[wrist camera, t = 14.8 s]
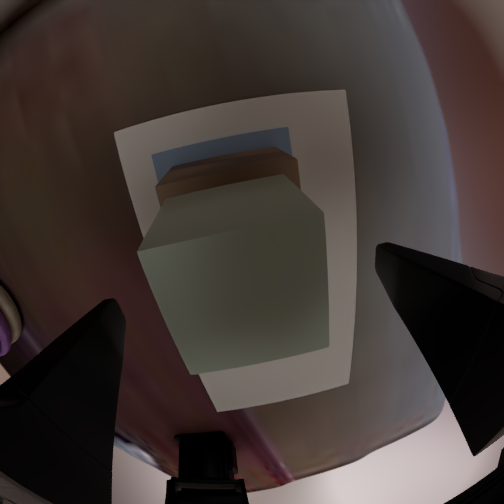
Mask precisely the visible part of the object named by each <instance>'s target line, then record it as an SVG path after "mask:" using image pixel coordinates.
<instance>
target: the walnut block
mask: <svg viewBox="0 0 504 504" xmlns="http://www.w3.org/2000/svg"><path fill="white" fill-rule="evenodd" d="M281 174H284V175H285V176H286V177H287V178H288V179H289V180H291V181H292V182H293V183H294V184H295V185H296V186H297V187H298V188H299V189H300V190H301V186H300V177H299V168H298V160H297V159H296V158H295V157H293V156H291V155H289V154H288V153H286V152H284V151H282V150H280V149H279V148H277V147H268V148H262V149H256V150H250V151H244V152H238V153H233V154H227V155H222V156H217V157H212V158H207V159H203V160H198V161H193V162H189V163H184V164H180V165H176V166H172V167H171V168H170V170H169V171H168V172H167V173H166V174H165V175H164V177H163V178H162V179H161V180H160V181H159V182H158V184H157V185H156V186H155V189H156V193H157V197H158V200H159V204H160V208H161V207H162V205H163V203H164V201H165V200H166V199H167V198H171V197H175V196H179V195H184V194H188V193H192V192H196V191H201V190H205V189H210V188H214V187H219V186H224V185H228V184H233V183H238V182H243V181H248V180H253V179H259V178H264V177H269V176H275V175H281Z"/></svg>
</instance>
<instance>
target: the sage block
mask: <svg viewBox="0 0 504 504" xmlns="http://www.w3.org/2000/svg"><path fill="white" fill-rule="evenodd" d="M137 254H138V256H139V259H140V262H141V264H142V267H143V270H144V272H145V275H146V277H147V280H148V282H149V285H150V287H151V290H152V292H153V295H154V297H155V299H156V302H157V304H158V306H159V309H160V311H161V313H162V316H163V318H164V320H165V322H166V325H167V327H168V329H169V331H170V333H171V336H172V338H173V340H174V342H175V344H176V346H177V348H178V350H179V353H180V355H181V357H182V359H183V361H184V363H185V365H186V367H187V369H188V371H189V373H190V375H194V374H201V373H208V372H215V371H221V370H227V369H233V368H239V367H244V366H249V365H255V364H260V363H264V362H269V361H274V360H279V359H283V358H288V357H292V356H296V355H300V354H304V353H308V352H312V351H316V350H320V349H324V348H328V347H329V291H328V267H327V248H326V233H325V219H324V212H323V211H322V210H321V209H320V208H319V207H318V206H317V205H316V204H315V203H314V202H313V201H312V200H311V199H310V198H308V197H307V196H306V195H305V194H304V193H303V192H302V191H301V190H300V189H299V188H298V187H297V186H296V185H295V184H294V183H293V182H292V181H291V180H289V179H288V178H287V177H286V176H285V175H284V174H281V175H275V176H269V177H264V178H259V179H253V180H248V181H243V182H238V183H233V184H228V185H224V186H219V187H214V188H210V189H205V190H201V191H196V192H192V193H188V194H184V195H179V196H175V197H171V198H167V199H166V200H165V201H164V203H163V205H162V207H161V208H160V210H159V212H158V214H157V215H156V217H155V219H154V221H153V223H152V224H151V226H150V228H149V230H148V232H147V234H146V235H145V237H144V239H143V241H142V243H141V245H140V247H139V249H138V251H137Z"/></svg>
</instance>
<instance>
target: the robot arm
mask: <svg viewBox="0 0 504 504" xmlns="http://www.w3.org/2000/svg"><path fill="white" fill-rule="evenodd" d="M375 269H376V272H377V274H378V276H379V278H380V280H381V282H382V284H383V286H384V288H385V290H386V292H387V294H388V296H389V298H390V300H391V302H392V304H393V306H394V308H395V309H396V311H397V313H398V314H399V316H400V317H401V319H402V321H403V322H404V324H405V325H406V327H407V329H408V330H409V332H410V334H411V335H412V337H413V339H414V340H415V342H416V344H417V346H418V347H419V349H420V351H421V353H422V354H423V356H424V358H425V360H426V361H427V363H428V365H429V367H430V369H431V370H432V372H433V374H434V376H435V378H436V380H437V381H438V383H439V385H440V387H441V389H442V391H443V393H444V395H445V397H446V399H447V401H448V403H450V404H449V405H450V407H451V409H452V411H453V413H454V415H455V417H456V419H457V422H458V424H459V426H460V428H461V430H462V432H463V434H464V437H465V439H466V441H467V443H468V446H469V448H470V450H471V453H472V454H473V456H476V455H477V454H479V453H480V452H482V451H483V450H484V449H486V448H487V447H488V446H490V445H491V444H493V443H494V442H495V441H497V440H498V439H499V438H500V437H502V436H503V435H504V277H503V276H500V275H496V274H492V273H489V272H486V271H483V270H480V269H476V268H473V267H469V266H467V265H464V264H460V263H457V262H454V261H451V260H447V259H444V258H441V257H438V256H434V255H431V254H427V253H424V252H421V251H417V250H414V249H410V248H407V247H403V246H400V245H396V244H392V243H389V242H386V243H381V244H378V245H377V246H376V257H375ZM125 330H126V319H125V316H124V314H123V312H122V310H121V308H120V306H119V304H118V302H117V300H116V299H114V298H111V299H105V300H103V301H102V302H101V303H99V304H98V305H97V306H96V307H94V308H93V309H92V310H91V311H89V312H88V313H87V314H86V315H84V316H83V317H82V318H81V319H79V320H78V321H77V322H76V323H74V324H73V325H72V326H71V327H70V328H68V329H67V330H66V331H65V332H64V333H62V334H61V335H60V336H59V337H58V338H56V339H55V340H54V341H53V342H52V343H50V344H49V345H48V346H47V347H46V348H45V349H43V350H42V351H41V352H40V353H39V354H38V355H36V356H35V357H34V358H33V359H32V360H31V361H29V362H28V363H27V364H26V365H25V366H24V367H22V368H21V369H20V370H19V371H18V372H16V373H15V374H14V375H13V376H11V377H10V378H9V379H8V380H6V382H4V383H3V384H1V385H0V504H111V503H112V497H111V496H112V492H111V491H112V459H113V444H114V432H115V421H116V411H117V403H118V395H119V387H120V380H121V373H122V367H123V359H124V344H125ZM174 440H175V441H176V442H177V443H178V445H179V469H178V478H176V477H171V479H170V480H167V488H166V499H165V504H249V502H248V497H247V493H246V488H245V483H244V479H239V480H234V474H237V473H238V467H237V458H236V449H235V447H234V445H233V443H232V442H231V441H229V440H228V438H227V437H226V435H225V433H224V432H215V433H205V434H194V435H180V436H175V437H174ZM444 504H504V448H503V449H502V451H501V455H500V459H499V463H498V467H497V468H496V469H495V470H494V471H493V472H491V473H490V474H488V475H487V476H486V477H485V478H483V479H481V480H480V481H479V482H477V483H476V484H474V485H473V486H471V487H470V488H468V489H467V490H465V491H464V492H462V493H461V494H459V495H457V496H456V497H454V498H453V499H451V500H449V501H448V502H446V503H444Z"/></svg>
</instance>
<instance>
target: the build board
mask: <svg viewBox="0 0 504 504" xmlns="http://www.w3.org/2000/svg"><path fill="white" fill-rule="evenodd" d="M114 136H115V140H116V144H117V148H118V152H119V156H120V160H121V164H122V168H123V172H124V175H125V179H126V183H127V186H128V190H129V193H130V196H131V200H132V203H133V206H134V210H135V213H136V216H137V219H138V222H139V226H140V229H141V232H142V235H143V238H144V237H145V235H146V234H147V232H148V230H149V228H150V226H151V224H152V223H153V221H154V219H155V217H156V215H157V214H158V212H159V210H160V204H159V200H158V197H157V193H156V189H155V186H156V185H157V184H158V182H159V181H160V180H161V179H162V178H163V177H164V175H165V174H166V173H167V172H168V171H169V170H170V168H171V167H172V166H176V165H180V164H184V163H189V162H193V161H198V160H203V159H207V158H212V157H217V156H222V155H227V154H233V153H238V152H244V151H250V150H256V149H262V148H268V147H277V148H279V149H280V150H282V151H284V152H286V153H288V154H289V155H291V156H293V157H295V158H296V159H297V160H298V168H299V177H300V186H301V191H302V192H303V193H304V194H305V195H306V196H307V197H308V198H310V199H311V200H312V201H313V202H314V203H315V204H316V205H317V206H318V207H319V208H320V209H321V210H322V211H323V212H324V219H325V233H326V248H327V267H328V291H329V347H328V348H324V349H320V350H316V351H312V352H308V353H304V354H300V355H296V356H292V357H288V358H283V359H279V360H274V361H269V362H264V363H260V364H255V365H249V366H244V367H239V368H233V369H227V370H221V371H215V372H208V373H201V374H199V376H200V378H201V380H202V382H203V384H204V386H205V388H206V390H207V392H208V394H209V396H210V398H211V400H212V402H213V404H214V406H215V408H216V410H217V412H221V411H228V410H235V409H241V408H247V407H253V406H259V405H264V404H269V403H274V402H279V401H284V400H288V399H293V398H297V397H301V396H305V395H309V394H313V393H317V392H321V391H325V390H328V389H332V388H335V387H339V386H342V385H346V384H349V377H350V368H351V358H352V348H353V336H354V322H355V305H356V279H357V218H356V192H355V175H354V161H353V149H352V139H351V129H350V120H349V112H348V104H347V97H346V90H326V91H311V92H299V93H289V94H280V95H272V96H264V97H257V98H251V99H244V100H238V101H233V102H227V103H222V104H217V105H212V106H207V107H202V108H198V109H193V110H189V111H185V112H181V113H177V114H173V115H169V116H165V117H162V118H158V119H155V120H151V121H148V122H144V123H141V124H138V125H134V126H131V127H128V128H125V129H122V130H119V131H116V132H114Z"/></svg>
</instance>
